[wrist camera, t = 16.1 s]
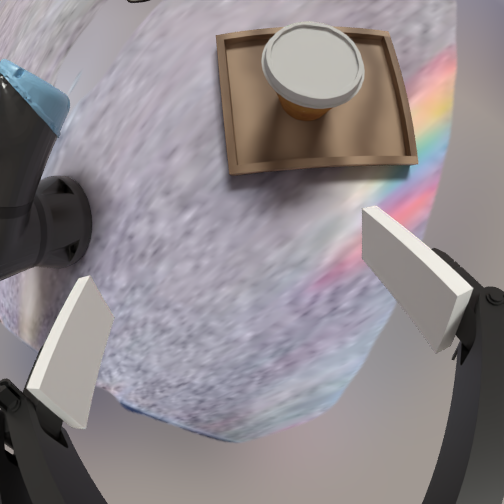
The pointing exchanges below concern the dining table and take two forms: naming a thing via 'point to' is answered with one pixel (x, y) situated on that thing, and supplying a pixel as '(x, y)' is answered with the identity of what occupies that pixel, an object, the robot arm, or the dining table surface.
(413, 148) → the serving tray
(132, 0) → the salad plate
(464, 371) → the robot arm
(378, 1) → the dining table surface
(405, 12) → the dining table surface
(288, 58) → the disposable coffee cup
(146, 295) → the dining table surface
